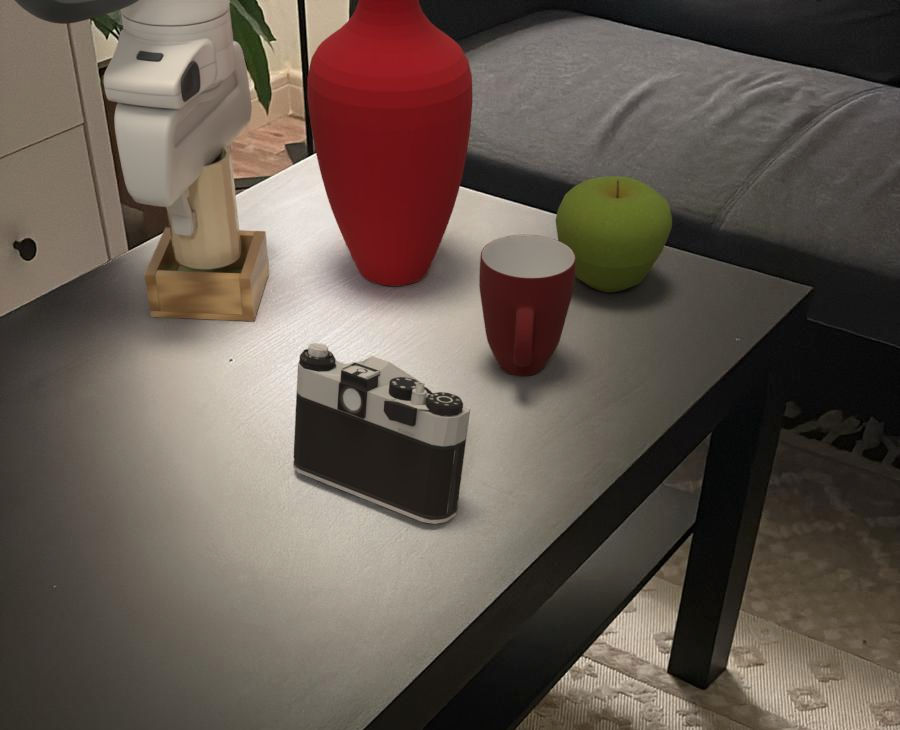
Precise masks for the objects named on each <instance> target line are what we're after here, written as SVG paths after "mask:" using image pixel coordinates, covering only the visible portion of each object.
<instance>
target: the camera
mask: <svg viewBox="0 0 900 730" xmlns="http://www.w3.org/2000/svg"><path fill="white" fill-rule="evenodd" d="M296 373H297V375H296V395H295V397H296V398H295V415H294V416H295V419H294V437H293V465H292V466H293V467H292V468H293V469H294V470H295V472H297V473H298V474H301V475H303V476H305V477H309V478H310V479H313V480H315V481H318V482H320V483H324V484H325V485H328V486H331V487H334V488H336V489H339V490H341V491H344V492H347V493H348V494H351V495H353V496H356V497H358V498H361V499H363V500H366V501H367V502H368V501H369V502H371V503H374V504H376V505H378V506H381V507H383V508H386V509H389V510H391V511H394V512H396V513H399V514H402V515H403V516H407V517H409V518H411V519H414V520H416V521H419V522H421V523H428V524H433V525H435V524H443V523H447V522H448V521H450V520H452V519H453V518H454V517H456V516H457V513H458V506H459V498H460V491H461V483H462V475H463V468H464V459H465V452H466V446H467V438H468V437H467V436H468V430H469V429H468V428H469V423H470V414H471V408H470V407H468V406H465V405H464V402H463V400H462V399H461V397H460V396H458V395H456V394H453V393H449V392H443V391H438V392H432V391H431V390H430V389H429V388H428V387H426V386H425V382H421V381H420V380H419V379H418V378H416V377H414V376H413V375H411V374H410V373H408V372H406V371H405V370H404V369H401V368H400V367H398V366H397V365H395V364H394V363H392V362H391V361H387V360H385V359H382V358H379V357H376V356H373V355H371V356H369V357H367V358H365V359H364V360H360V361H352V362H349V363H344V362H341V361H338V360H337V358H336V357H335V355H334V353H332V352H331V351H330V350H329V346H327V345H326V344H324V343H319V342H314V343H309V344H308V347H307V348H305V349H303V351H302V352H301V353H300V355H299V360H298V363H297V372H296Z"/></svg>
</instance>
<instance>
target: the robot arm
mask: <svg viewBox="0 0 900 730" xmlns="http://www.w3.org/2000/svg"><path fill="white" fill-rule="evenodd" d="M14 2H16V4H17V5H18V6H20V8H22V9H23V10H24V11H26V12H27V13H29V14H31V15H32V16H34V17H36V18H38V19H40V20H42V21H45V22H49V23H53V24H61V25H63V24H64V25H66V24H68V25H69V24H75V23H80V22H84V21H87V20H91V19H95V18H98V17H102V16H105V15H109V14H111V13H114V12H118V11H120V16H121V22H122V29H121V31H120V32H119V35H118V41H117V44H116V47H115V50H114V52H113V55H112V57H111V59H110V61H109V63H108V65H107V67H106V69H105V71H104V74H103V89H104V93H105V97H106V99H107V100H108V101H109V102H115V103H117V104H116V106H115V109H114V110H115V111H114V117H113V121H114V123H113V124H114V132H115V139H116V144H117V151H118V156H119V161H120V165H121V166H120V167H121V171H122V175H123V179H124V184H125V187H126V190H127V192H128V194H129V195H130V197H131V198H132V199H133V201H134V202H135V203H137V204H140V205H147V206H153V207H162V208H165V209H166V211H167V210H168V212H169V214H170V215H171V220H172V226H173V231H174V233H176V234H177V235H182V236H190V235H191V234H192V233H193V232H194V231H195V230H196V228H197V226H198V224H197V221H196V219H197V216H196V210H191V209H190V206H189V203H188V201H187V198H188V197H189V186H190V185H191V184H192V183H193V182H194V181H195V180H196V179H197V178H198V177H199V176H200V175H201V174H202V168H203V167H204V166H207V165H210V164H211V163H212V162H213V161H214V160H215V159H216V158H217V157H218V156H219V155H220V154H221V153H222V147H223V146H224V145H225V146H227V147H228V148H229V150H230V152H231V153H232V146H231V145H232V143H233V142H234V141H235V139H237V137H238V136H240V134H241V133H242V132H243V131H244V130H245V129H246V128H247V127H248V126H249V125H250V123H251V116H252V111H253V110H252V109H253V108H252V107H253V106H252V97H251V90H250V83H249V82H250V81H249V77H248V70H247V65H246V64H247V63H246V60H245V54H244V51H243V49H242V46H241V45H240V43H239V42H238V41H235V40H234V32H233V26H232V17H231V15H232V14H231V7H230V0H14Z"/></svg>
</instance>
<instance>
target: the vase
mask: <svg viewBox="0 0 900 730" xmlns="http://www.w3.org/2000/svg"><path fill="white" fill-rule="evenodd" d="M419 1H420V0H358V1H357V5H356V7H355V10H354V12H353V14H352V15H351V17H350V18H349V19H348V21H346V22H345V23H344V24H343V25H342V26H341V27H340V28H339V29H337V30H335V31H334V32H333V33H332V34H330V35H329V36H328V37H326V38H325V39H324V40H322V41H321V43H320V44H319V45H318V46H317V48H316V49H315V51H314V53H313V54H312V56H311V59H310V63H309V68H308V74H307V82H306V83H307V104H308V105H307V106H308V113H309V121H310V129H311V134H312V139H313V145H314V150H315V155H316V160H317V164H318V167H319V172H320V175H321V179H322V180H321V181H322V183H323V187H324V190H325V193H326V197H327V200H328V203H329V206H330V208H331V211H332V214H333V216H334V219H335V222H336V225H337V227H338V229H339V231H340V234H341V236H342V238H343V241H344V242H345V243H344V244H345V246H346V247H347V249H348V252H349V254H350V256H351V258H352V260H353V262H354V265H355V267H356V269H357V271H358V272H359V274H360V275H361V276H362V277H363V278H364V279H366V280H367V281H369V282H371V283H373V284H377V285H380V286H381V285H382V286H387V287H396V286H397V287H400V286H406V285H410V284H414V283H417V282H419V281H420V280H421V279H423V278H424V277H425V276H426V275H427V274H428V272H429V270H430V268H431V266H432V264H433V262H434V259H435V257H436V254H437V252H438V250H439V247H440V245H441V243H442V240H443V237H444V235H445V233H446V231H447V227H448V225H449V223H450V219H451V217H452V214H453V212H454V208H455V205H456V201H457V199H458V195H459V191H460V187H461V184H462V178H463V175H464V169H465V166H466V165H465V164H466V159H467V156H468V155H467V154H468V147H469V141H470V133H471V126H472V112H473V74H472V70H471V66H470V61H469V58H468V57H467V55H466V54H465V51H463V49H462V47H461V45H460V44H459V43H458V42H457V41H456V40H454V39H453V38H452V37H450V36H449V35H448V34H446V33H445V32H444V31H443V30H441V29H439V28H438V27H437V26H436V25H435V24H433V23H432V21H430V20H429V18H428V17H427V15H426V14H425V13H424V11H423V9H422V6H421V4H420V2H419Z"/></svg>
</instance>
